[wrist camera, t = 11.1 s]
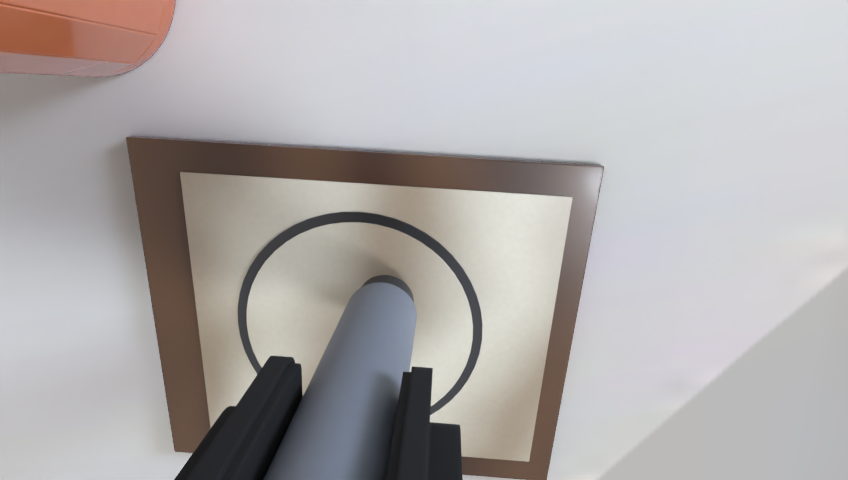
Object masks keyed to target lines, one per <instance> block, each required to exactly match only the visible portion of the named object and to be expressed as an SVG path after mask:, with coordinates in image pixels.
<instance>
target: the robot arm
mask: <svg viewBox="0 0 848 480" xmlns="http://www.w3.org/2000/svg"><path fill="white" fill-rule="evenodd" d="M432 373H433V368H426V367H413V366H412V369H411V372H403V375H402V381H401V388H400V394H399V400H398V406H397V412H396V418H395V424H394V430H393V437H392V443H391V449H390V455H389V461H388V467H387V473H386V479H385V480H462V455H461V429H460V425H458V424H446V423H434V422H430V408H431V391H432ZM302 397H303V394H302V368H301V364H300V363H295V360H294V358H293V357H284V356H270V357H269V358H268V360H267V361H266V363H265V364H264V366H263V367H262V368H261V370H260V371H259V373H258V374H257V376H256V377H255V379H254V380H253V382H252V383H251V385H250V386H249V388H248V389H247V391H246V392H245V394H244V395H243V396H242V398H241V399H240V401H239V402H238V404H237V405H236V406H229V407H227V408H226V409H225V410H224V411H223V412H222V413H221V415H220V416H219V418H218V419H217V420H216V422H215V423H214V425H213V426H212V427H211V429H210V430H209V432H208V433H207V434H206V436H205V437H204V439H203V440H202V441H201V443H200V444H199V446H198V447H197V449H196V450H195V451H194V453H193V454H192V456H191V457H190V458H189V460H188V461H187V463H186V464H185V465H184V467H183V468H182V470H181V471H180V473H179V474H178V475H177V477H176V478H175V480H263V479H264V477H265V474H266V472H267V470H268V468H269V466H270V464H271V462H272V460H273V458H274V456H275V454H276V452H277V449H278V447H279V445H280V443H281V441H282V439H283V437H284V435H285V433H286V431H287V429H288V427H289V424H290V422H291V420H292V418H293V416H294V414H295V412H296V410H297V408H298V406H299V404H300V402H301V399H302Z"/></svg>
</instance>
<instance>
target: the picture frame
mask: <svg viewBox="0 0 848 480" xmlns="http://www.w3.org/2000/svg"><path fill="white" fill-rule="evenodd" d="M126 139H127V146H128V152H129V159H130V165H131V172H132V178H133V185H134V191H135V197H136V204H137V210H138V217H139V223H140V230H141V236H142V243H143V249H144V256H145V262H146V269H147V275H148V281H149V288H150V294H151V301H152V307H153V314H154V320H155V327H156V333H157V340H158V346H159V353H160V359H161V366H162V372H163V378H164V385H165V391H166V398H167V404H168V411H169V417H170V424H171V430H172V437H173V443H174V450H175V452H188V453H194V451H195V450H196V449H197V447H198V446H199V444H200V443H201V441H202V440H203V439H204V437H205V436H206V434H207V433H208V432H209V430H210V429H211V427H212V426H213V425H214V423H215V422H216V420H217V419H218V418H219V416H220V415H221V413H222V412H223V411H224V410H225V409H226V408H227V407H229V406H236V405H237V404H238V402H239V401H240V399H241V398H242V396H243V395H244V394H245V392H246V391H247V389H248V388H249V386H250V385H251V383H252V382H253V380H254V379H255V377H256V376H257V374H258V373H259V371H260V370H261V368H262V367H263V366H264V364H265V363H266V361H267V360H268V358H269V357H270V356H284V357H293V358H294V360H295V363H300V364H301V368H302V394H303V395H304V393H305V391H306V389H307V387H308V385H309V383H310V381H311V379H312V376H313V374H314V372H315V370H316V368H317V366H318V364H319V362H320V360H321V358H322V356H323V354H324V351H325V349H326V347H327V345H328V343H329V341H330V339H331V337H332V335H333V333H334V331H335V329H336V326H337V324H338V322H339V320H340V318H341V316H342V314H343V312H344V310H345V308H346V306H347V304H348V301H349V300H350V298H351V296H352V295H353V294H354V293H355V292H356V291H357V290H358V289H360V288H361V287H362V285H363V284H364V283H365V282H366V281H367V280H369V279H370V278H372V277H375V276H379V275H391V276H394V277H397V278H399V279H401V280H402V281H404V282H405V283H406V284H407V285H408V287H409V288H410V290H411V292H412V294H413V298H414V305H415V307H416V312H417V321H416V328H415V335H414V342H413V350H412V357H411V364H410V371H409V372H411V369H412V366H413V367H426V368H433V373H432V391H431V408H430V422H434V423H446V424H458V425H460V429H461V455H462V475H475V476H487V477H500V478H512V479H525V480H547V474H548V469H549V464H550V458H551V453H552V447H553V442H554V436H555V431H556V426H557V420H558V415H559V409H560V404H561V398H562V393H563V387H564V382H565V377H566V371H567V366H568V360H569V355H570V349H571V344H572V338H573V333H574V328H575V322H576V317H577V311H578V306H579V300H580V295H581V290H582V284H583V279H584V273H585V268H586V262H587V257H588V251H589V246H590V241H591V235H592V230H593V224H594V219H595V213H596V208H597V202H598V197H599V192H600V186H601V181H602V175H603V170H604V167H603V166H601V165H593V164H577V163H561V162H545V161H529V160H512V159H496V158H480V157H464V156H448V155H431V154H415V153H399V152H383V151H367V150H350V149H334V148H318V147H302V146H286V145H269V144H253V143H237V142H221V141H205V140H188V139H172V138H156V137H140V136H130V137H126Z"/></svg>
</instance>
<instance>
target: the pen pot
mask: <svg viewBox="0 0 848 480" xmlns="http://www.w3.org/2000/svg"><path fill="white" fill-rule="evenodd" d="M174 9H175V0H0V73H19V74H41V75H64V76H87V77H108V76H114V75H120V74H123V73H126V72H129V71H131V70H133V69H135V68H137V67H139V66H140V65H142V64H143V63H144V62H146V61H147V60H148V59H149V58H150V57H151V56H152V55H153V54H154V53H155V52H156V51H157V50H158V48H159V47H160V45H161V44H162V43H163V41H164V39H165V37H166V35H167V33H168V31H169V28H170V25H171V22H172V19H173V14H174Z"/></svg>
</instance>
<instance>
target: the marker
mask: <svg viewBox="0 0 848 480" xmlns="http://www.w3.org/2000/svg"><path fill="white" fill-rule="evenodd" d="M416 321H417V312H416V307H415V305H414V298H413V294H412V292H411V290H410V288H409V287H408V285H407V284H406V283H405V282H404V281H402V280H401V279H399V278H397V277H394V276H391V275H379V276H375V277H372V278H370V279H369V280H367V281H366V282H365V283H364V284H363V285H362V287H361V288H360V289H358V290H357V291H356V292H355V293H354V294H353V295H352V296H351V298H350V300H349V301H348V304H347V306H346V308H345V310H344V312H343V314H342V316H341V318H340V320H339V322H338V324H337V326H336V329H335V331H334V333H333V335H332V337H331V339H330V341H329V343H328V345H327V347H326V349H325V351H324V354H323V356H322V358H321V360H320V362H319V364H318V366H317V368H316V370H315V372H314V374H313V376H312V379H311V381H310V383H309V385H308V387H307V389H306V391H305V393H304V395H303V397H302V399H301V402H300V404H299V406H298V408H297V410H296V412H295V414H294V416H293V418H292V420H291V422H290V424H289V427H288V429H287V431H286V433H285V435H284V437H283V439H282V441H281V443H280V445H279V447H278V449H277V452H276V454H275V456H274V458H273V460H272V462H271V464H270V466H269V468H268V470H267V472H266V474H265V477H264V479H263V480H385V479H386V473H387V467H388V461H389V455H390V449H391V443H392V437H393V430H394V424H395V418H396V412H397V406H398V400H399V394H400V388H401V381H402V375H403V372H409V371H410V364H411V357H412V350H413V342H414V335H415V328H416Z"/></svg>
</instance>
